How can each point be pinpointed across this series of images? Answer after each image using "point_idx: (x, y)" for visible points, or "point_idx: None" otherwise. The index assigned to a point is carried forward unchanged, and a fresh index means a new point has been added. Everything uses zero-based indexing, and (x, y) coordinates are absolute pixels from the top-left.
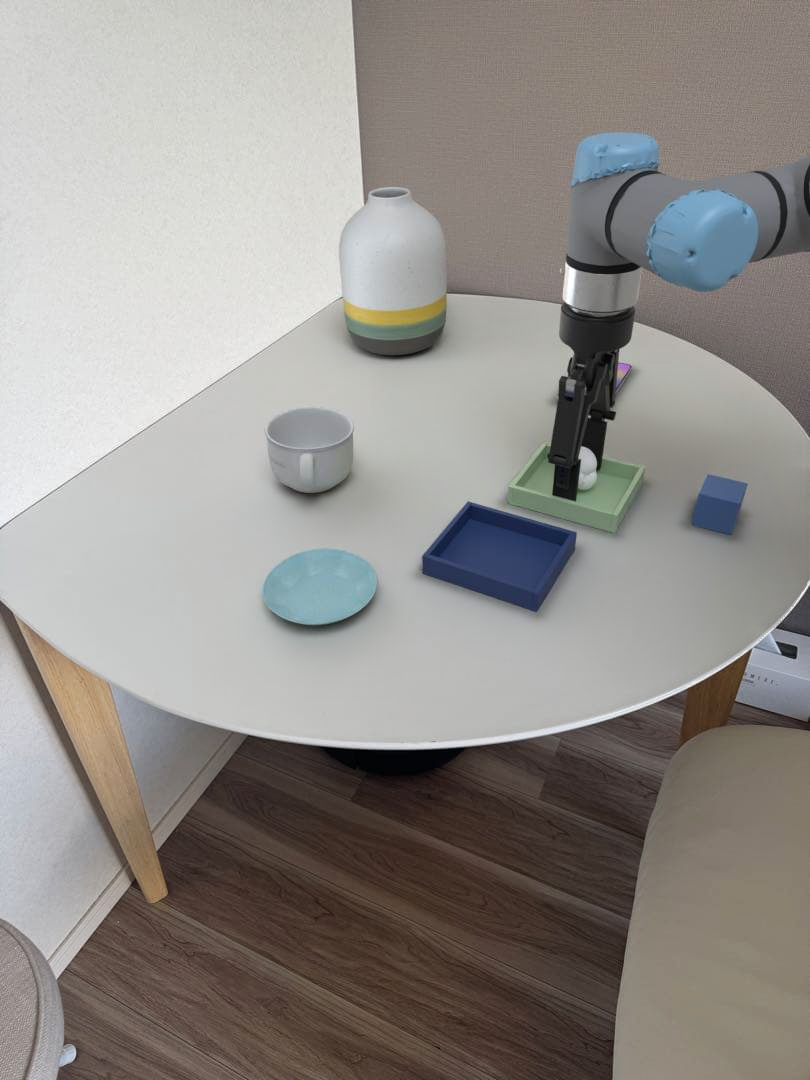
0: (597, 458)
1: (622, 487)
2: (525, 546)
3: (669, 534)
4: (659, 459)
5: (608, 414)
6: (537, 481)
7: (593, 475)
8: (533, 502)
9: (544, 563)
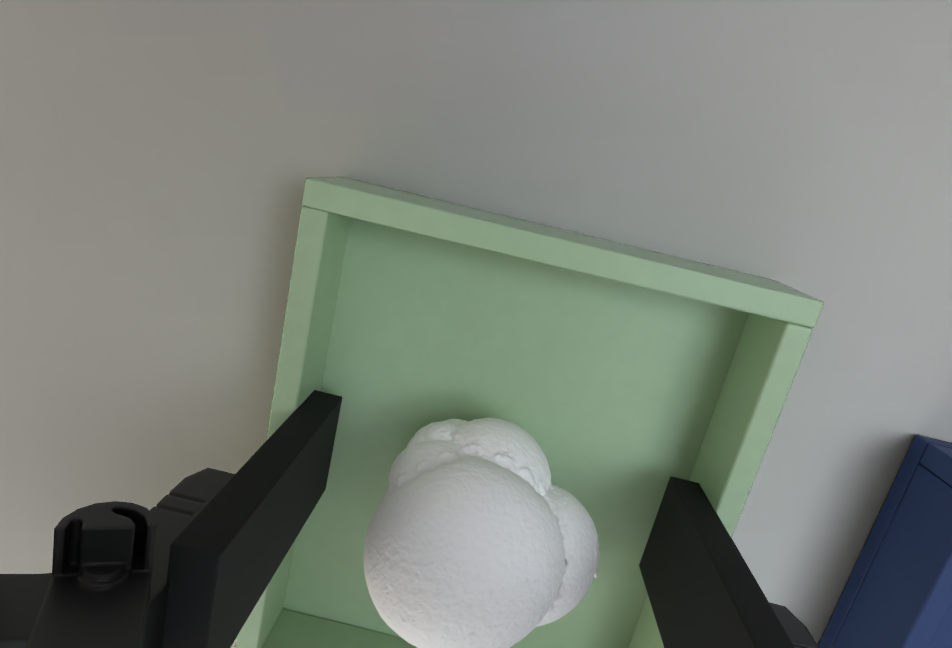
0: (320, 439)
1: (422, 273)
2: (943, 622)
3: (748, 21)
4: (94, 103)
5: (114, 580)
6: None
7: (515, 456)
8: None
9: None
